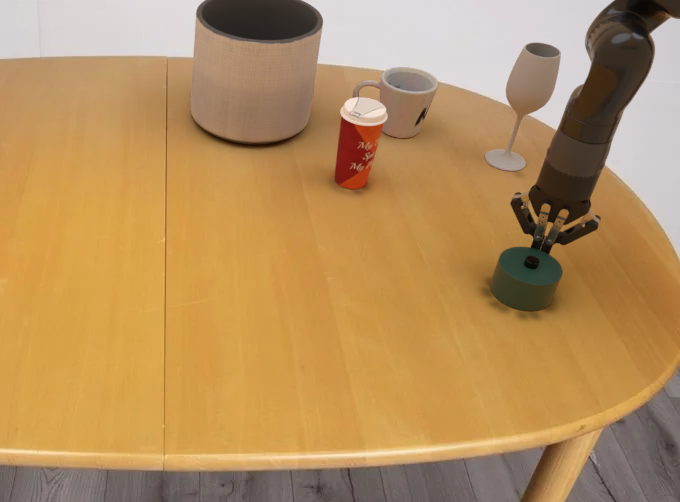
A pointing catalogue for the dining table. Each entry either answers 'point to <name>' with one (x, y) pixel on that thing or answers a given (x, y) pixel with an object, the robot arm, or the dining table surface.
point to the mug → (403, 99)
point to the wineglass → (527, 95)
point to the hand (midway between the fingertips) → (536, 258)
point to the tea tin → (525, 278)
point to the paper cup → (358, 140)
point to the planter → (254, 68)
